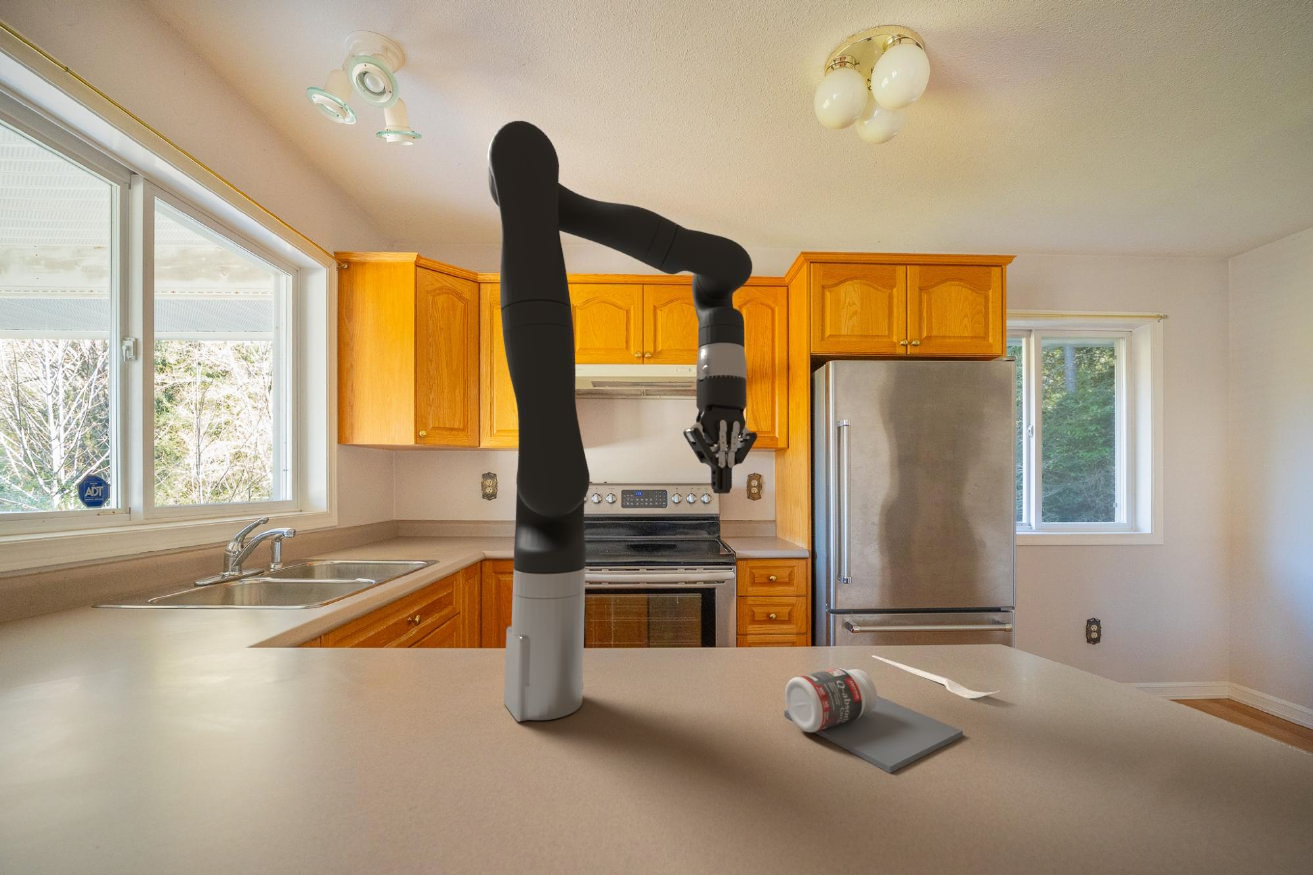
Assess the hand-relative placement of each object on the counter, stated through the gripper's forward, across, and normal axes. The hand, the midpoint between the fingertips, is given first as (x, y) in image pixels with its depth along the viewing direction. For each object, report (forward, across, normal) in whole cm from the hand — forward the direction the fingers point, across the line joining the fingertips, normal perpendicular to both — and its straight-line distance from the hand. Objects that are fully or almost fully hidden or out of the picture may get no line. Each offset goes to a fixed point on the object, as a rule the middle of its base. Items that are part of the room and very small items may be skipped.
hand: (721, 493), depth 74 cm
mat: (+27, -7, +19) cm, 34 cm away
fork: (+28, -28, +14) cm, 42 cm away
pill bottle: (+24, +2, +16) cm, 29 cm away
